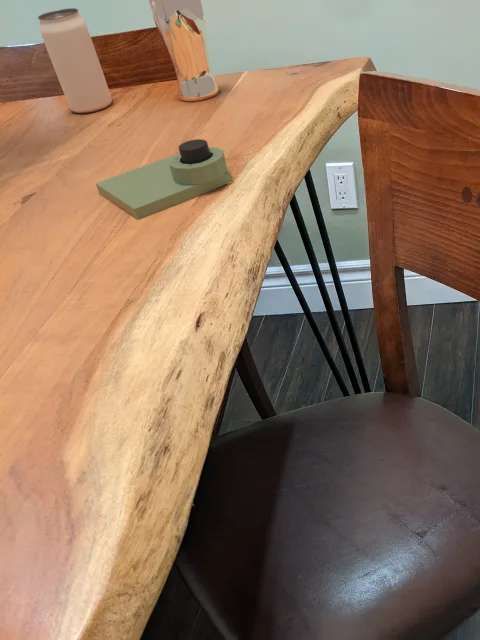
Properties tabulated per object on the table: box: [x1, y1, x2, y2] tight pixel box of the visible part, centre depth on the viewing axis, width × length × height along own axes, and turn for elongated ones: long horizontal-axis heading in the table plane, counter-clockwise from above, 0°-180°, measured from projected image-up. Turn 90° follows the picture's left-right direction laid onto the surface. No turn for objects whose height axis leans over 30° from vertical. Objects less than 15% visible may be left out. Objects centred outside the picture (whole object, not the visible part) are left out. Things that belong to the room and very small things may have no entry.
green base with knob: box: [95, 146, 234, 220], centre depth 79 cm, size 13×12×3 cm
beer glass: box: [148, 0, 220, 103], centre depth 99 cm, size 7×7×15 cm
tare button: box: [178, 138, 211, 164], centre depth 77 cm, size 3×3×2 cm
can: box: [37, 7, 113, 115], centre depth 102 cm, size 6×6×12 cm
